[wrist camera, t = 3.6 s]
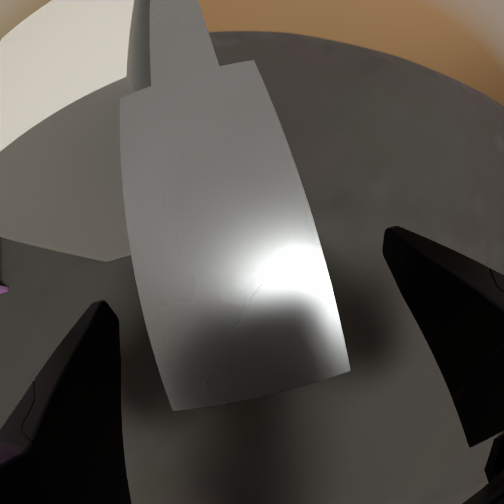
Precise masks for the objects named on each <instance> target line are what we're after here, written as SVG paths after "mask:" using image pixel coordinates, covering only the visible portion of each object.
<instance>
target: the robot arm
mask: <svg viewBox="0 0 504 504" xmlns="http://www.w3.org/2000/svg"><path fill="white" fill-rule="evenodd" d="M382 250H383V256H384V258H385V260H386V262H387V264H388V266H389V268H390V270H391V273H392V275H393V277H394V279H395V281H396V283H397V286H398V288H399V290H400V292H401V294H402V296H403V298H404V300H405V301H406V303H407V305H408V307H409V309H410V310H411V312H412V314H413V316H414V318H415V320H416V321H417V323H418V325H419V327H420V329H421V331H422V333H423V335H424V337H425V339H426V341H427V343H428V345H429V347H430V349H431V351H432V353H433V355H434V357H435V360H436V362H437V364H438V366H439V368H440V371H441V373H442V375H443V377H444V380H445V382H446V384H447V387H448V389H449V392H450V394H451V397H452V398H453V402H454V405H455V407H456V410H457V413H458V415H459V418H460V421H461V424H462V427H463V430H464V433H465V436H466V439H467V442H468V445H469V447H473V446H475V445H477V444H479V443H481V442H483V441H485V440H487V439H489V438H491V437H493V436H495V435H496V434H498V433H500V432H502V431H503V432H502V433H501V434H499V435H498V436H497V437H496V438H495V439H494V441H493V445H492V448H491V451H490V455H489V458H488V461H487V464H486V467H485V469H484V470H485V473H486V476H487V479H488V482H489V483H488V484H487V485H486V486H485V487H484V488H482V489H481V490H480V491H479V492H477V493H476V494H475V495H473V496H472V497H471V498H469V499H468V500H467V501H465V502H464V503H463V504H504V275H502V274H500V273H498V272H496V271H494V270H492V269H491V268H488V267H487V266H485V265H483V264H481V263H479V262H477V261H475V260H473V259H471V258H469V257H467V256H465V255H462V254H460V253H458V252H456V251H454V250H452V249H450V248H448V247H445V246H443V245H441V244H439V243H437V242H434V241H432V240H430V239H428V238H425V237H423V236H421V235H418V234H416V233H414V232H411V231H409V230H406V229H404V228H401V227H399V226H394V227H390V228H387V229H386V230H385V233H384V241H383V249H382ZM0 504H131V499H130V493H129V487H128V480H127V474H126V466H125V457H124V447H123V435H122V417H121V355H120V335H119V320H118V317H117V316H116V314H115V313H114V312H113V310H112V309H111V308H110V306H109V305H108V304H107V302H106V301H104V300H101V301H96V302H93V303H92V304H91V305H90V307H89V308H88V309H87V310H86V311H85V313H84V314H83V315H82V316H81V318H80V319H79V320H78V321H77V322H76V324H75V325H74V326H73V328H72V329H71V330H70V331H69V333H68V334H67V335H66V337H65V338H64V339H63V340H62V342H61V343H60V344H59V346H58V347H57V348H56V350H55V351H54V352H53V354H52V355H51V357H50V358H49V359H48V361H47V362H46V364H45V365H44V366H43V368H42V369H41V371H40V372H39V374H38V375H37V376H36V378H35V381H33V382H32V384H31V385H30V387H29V388H28V390H27V391H26V393H25V394H24V396H23V397H22V399H21V400H20V402H19V403H18V405H17V406H16V407H15V409H14V410H13V412H12V413H11V415H10V416H9V417H8V419H7V420H6V422H5V423H4V425H3V426H2V428H1V429H0Z"/></svg>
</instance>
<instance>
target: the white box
mask: <svg viewBox="0 0 504 504" xmlns="http://www.w3.org/2000/svg"><path fill="white" fill-rule="evenodd" d="M150 86H151V71H150V0H52V1H51V2H49V3H48V4H46V5H45V6H43V7H42V8H40V9H39V10H37V11H36V12H34V13H33V14H32V15H30V16H29V17H28V18H26V19H25V20H24V21H23V22H21V23H20V24H19V25H17V26H16V27H15V28H14V29H12V30H11V31H10V32H9V33H8V34H6V36H4V37H3V38H2V40H1V41H0V237H2V238H6V239H10V240H13V241H17V242H21V243H25V244H29V245H33V246H38V247H42V248H46V249H50V250H54V251H59V252H63V253H68V254H72V255H76V256H81V257H86V258H90V259H95V260H100V261H104V262H109V261H112V260H115V259H119V258H122V257H126V256H129V255H131V251H130V245H129V238H128V231H127V224H126V216H125V207H124V197H123V186H122V173H121V156H120V98H121V97H124V96H126V95H129V94H131V93H134V92H136V91H139V90H141V89H144V88H147V87H150Z"/></svg>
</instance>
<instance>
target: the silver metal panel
mask: <svg viewBox="0 0 504 504" xmlns="http://www.w3.org/2000/svg"><path fill="white" fill-rule="evenodd" d="M150 71H151V86H150V87H147V88H144V89H141V90H139V91H136V92H134V93H131V94H129V95H126V96H124V97H121V98H120V156H121V173H122V186H123V197H124V207H125V216H126V224H127V231H128V238H129V245H130V251H131V257H132V263H133V268H134V274H135V279H136V284H137V289H138V293H139V298H140V302H141V307H142V311H143V315H144V319H145V323H146V327H147V331H148V335H149V339H150V342H151V346H152V349H153V353H154V356H155V360H156V363H157V366H158V369H159V372H160V376H161V379H162V382H163V385H164V388H165V391H166V393H167V396H168V399H169V402H170V405H171V407H172V410H173V411H177V410H186V409H195V408H202V407H209V406H216V405H222V404H228V403H233V402H239V401H244V400H249V399H253V398H258V397H263V396H267V395H271V394H275V393H279V392H283V391H287V390H291V389H295V388H298V387H302V386H305V385H309V384H312V383H315V382H318V381H322V380H325V379H328V378H331V377H334V376H337V375H340V374H343V373H345V372H348V371H350V365H349V360H348V355H347V350H346V345H345V341H344V336H343V331H342V327H341V322H340V318H339V314H338V310H337V305H336V301H335V297H334V293H333V289H332V285H331V281H330V277H329V274H328V270H327V266H326V262H325V259H324V255H323V252H322V248H321V244H320V241H319V238H318V234H317V231H316V227H315V224H314V221H313V217H312V214H311V211H310V208H309V205H308V201H307V198H306V195H305V192H304V189H303V186H302V183H301V180H300V177H299V174H298V171H297V168H296V165H295V163H294V160H293V157H292V154H291V151H290V148H289V146H288V143H287V140H286V138H285V135H284V132H283V130H282V127H281V124H280V122H279V119H278V117H277V114H276V111H275V109H274V106H273V104H272V102H271V99H270V97H269V94H268V92H267V89H266V87H265V85H264V82H263V80H262V78H261V75H260V73H259V71H258V68H257V66H256V64H255V62H254V60H251V61H245V62H239V63H234V64H229V65H224V66H219V64H218V61H217V58H216V55H215V51H214V48H213V45H212V42H211V39H210V36H209V33H208V30H207V27H206V24H205V21H204V18H203V15H202V12H201V9H200V6H199V3H198V0H150Z"/></svg>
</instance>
